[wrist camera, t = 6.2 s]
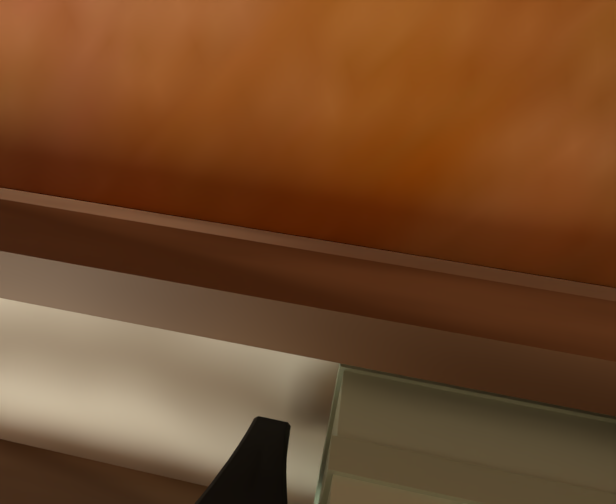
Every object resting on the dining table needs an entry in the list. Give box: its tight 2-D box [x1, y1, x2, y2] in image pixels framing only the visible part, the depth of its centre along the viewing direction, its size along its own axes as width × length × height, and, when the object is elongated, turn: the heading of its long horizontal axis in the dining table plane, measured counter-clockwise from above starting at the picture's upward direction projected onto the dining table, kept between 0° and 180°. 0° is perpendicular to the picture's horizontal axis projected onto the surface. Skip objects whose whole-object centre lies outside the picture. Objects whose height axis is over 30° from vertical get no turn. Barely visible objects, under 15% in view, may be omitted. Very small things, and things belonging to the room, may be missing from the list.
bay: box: [0, 188, 616, 504], centre depth 10 cm, size 11×25×6 cm, turn 83°
